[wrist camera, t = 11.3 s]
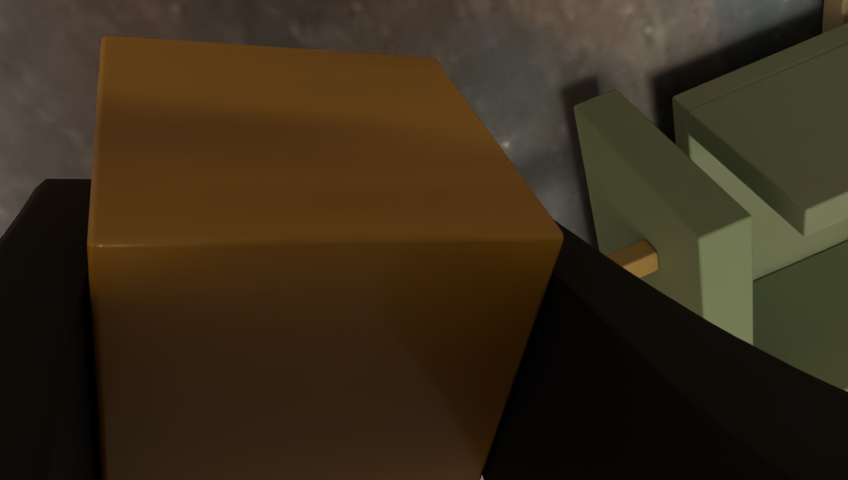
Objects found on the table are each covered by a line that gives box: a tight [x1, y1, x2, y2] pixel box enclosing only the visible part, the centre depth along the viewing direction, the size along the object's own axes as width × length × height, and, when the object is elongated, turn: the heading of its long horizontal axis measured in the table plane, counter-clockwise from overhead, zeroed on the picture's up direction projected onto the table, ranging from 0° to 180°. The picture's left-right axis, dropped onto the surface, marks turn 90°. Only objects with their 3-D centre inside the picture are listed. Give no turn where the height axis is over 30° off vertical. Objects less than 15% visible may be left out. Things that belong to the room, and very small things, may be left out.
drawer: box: [574, 23, 848, 392], centre depth 21 cm, size 16×9×6 cm, turn 106°
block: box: [87, 35, 563, 480], centre depth 9 cm, size 4×4×4 cm
